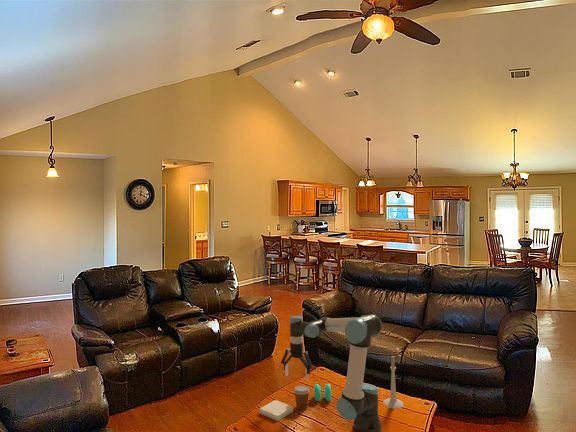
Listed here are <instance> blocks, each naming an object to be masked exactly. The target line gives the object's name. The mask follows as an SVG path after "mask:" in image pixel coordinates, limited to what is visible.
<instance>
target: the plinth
mask: <svg viewBox="0 0 576 432" xmlns="http://www.w3.org/2000/svg"><path fill="white" fill-rule="evenodd" d="M293 412H294V406H292V405H290V404H287V403H284V402H282V401H279V400H277V399H275V400H272V401H271V402H269V403H267V404H266V405H264V406H262V407H260V408H259V414H260V415H262V416H264V417H267V418H269V419H271V420H274V421H277V422H279V421H281V420H282V419H284V418H285V417H287V416H288V415H291V414H292V413H293Z"/></svg>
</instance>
